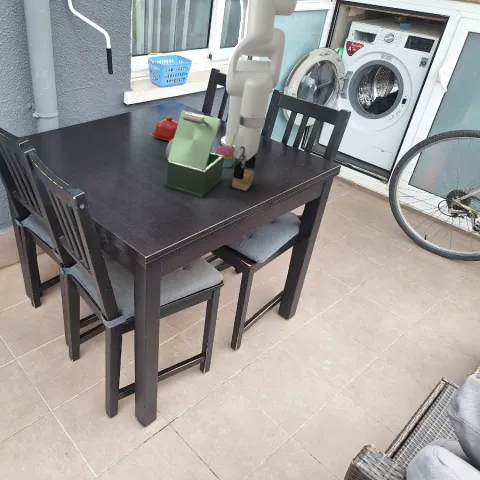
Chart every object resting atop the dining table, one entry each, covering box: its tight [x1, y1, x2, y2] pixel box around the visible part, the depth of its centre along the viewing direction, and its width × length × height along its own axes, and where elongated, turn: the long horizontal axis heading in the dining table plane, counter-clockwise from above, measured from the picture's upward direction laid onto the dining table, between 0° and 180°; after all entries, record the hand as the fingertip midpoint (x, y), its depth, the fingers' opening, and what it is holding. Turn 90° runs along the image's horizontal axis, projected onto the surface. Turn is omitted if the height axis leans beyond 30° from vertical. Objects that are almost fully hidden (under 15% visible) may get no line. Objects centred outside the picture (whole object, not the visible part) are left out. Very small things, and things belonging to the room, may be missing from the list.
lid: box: [167, 110, 221, 171], centre depth 133 cm, size 16×13×6 cm
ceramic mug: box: [165, 139, 174, 160], centre depth 160 cm, size 11×8×8 cm
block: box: [231, 168, 255, 192], centre depth 146 cm, size 5×5×5 cm
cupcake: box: [214, 135, 235, 168], centre depth 157 cm, size 9×8×12 cm
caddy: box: [166, 151, 224, 198], centre depth 145 cm, size 15×13×9 cm
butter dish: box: [149, 115, 179, 142], centre depth 178 cm, size 12×12×8 cm
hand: (243, 172), depth 144 cm, fingers open, 9 cm apart
